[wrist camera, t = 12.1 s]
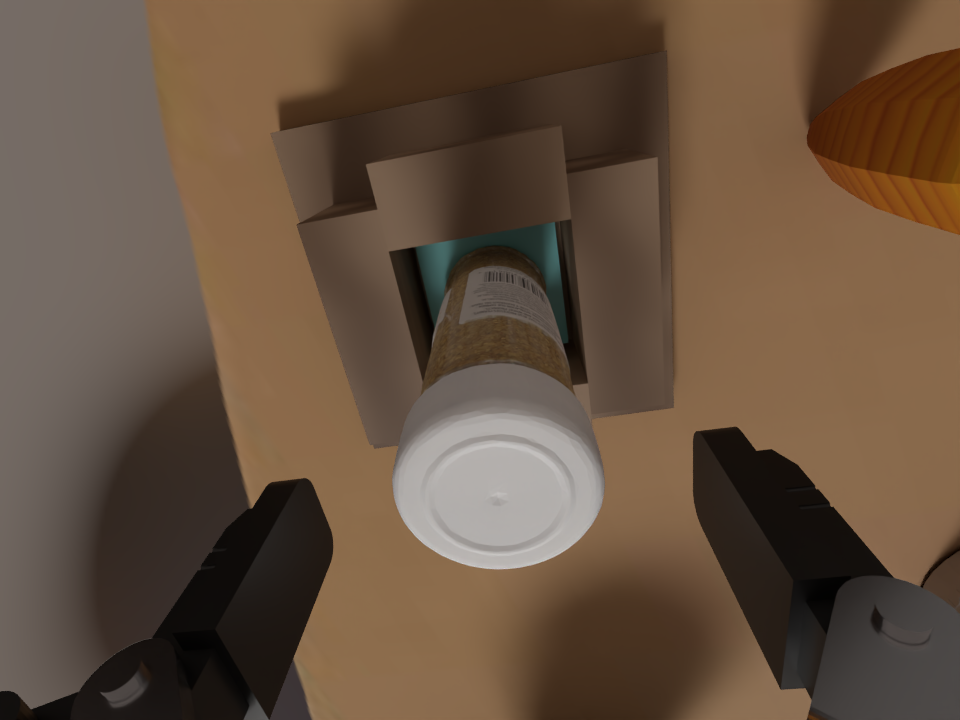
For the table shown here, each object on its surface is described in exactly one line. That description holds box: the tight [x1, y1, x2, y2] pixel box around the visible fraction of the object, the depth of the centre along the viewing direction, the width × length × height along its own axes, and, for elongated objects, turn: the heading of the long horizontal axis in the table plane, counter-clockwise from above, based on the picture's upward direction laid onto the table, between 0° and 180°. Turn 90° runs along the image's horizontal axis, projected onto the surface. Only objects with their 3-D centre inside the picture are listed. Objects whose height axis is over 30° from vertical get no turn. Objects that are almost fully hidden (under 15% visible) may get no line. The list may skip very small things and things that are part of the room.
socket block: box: [271, 51, 674, 449], centre depth 22 cm, size 16×16×6 cm
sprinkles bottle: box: [392, 246, 605, 569], centre depth 16 cm, size 5×5×13 cm
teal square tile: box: [415, 222, 569, 343], centre depth 23 cm, size 6×6×1 cm
